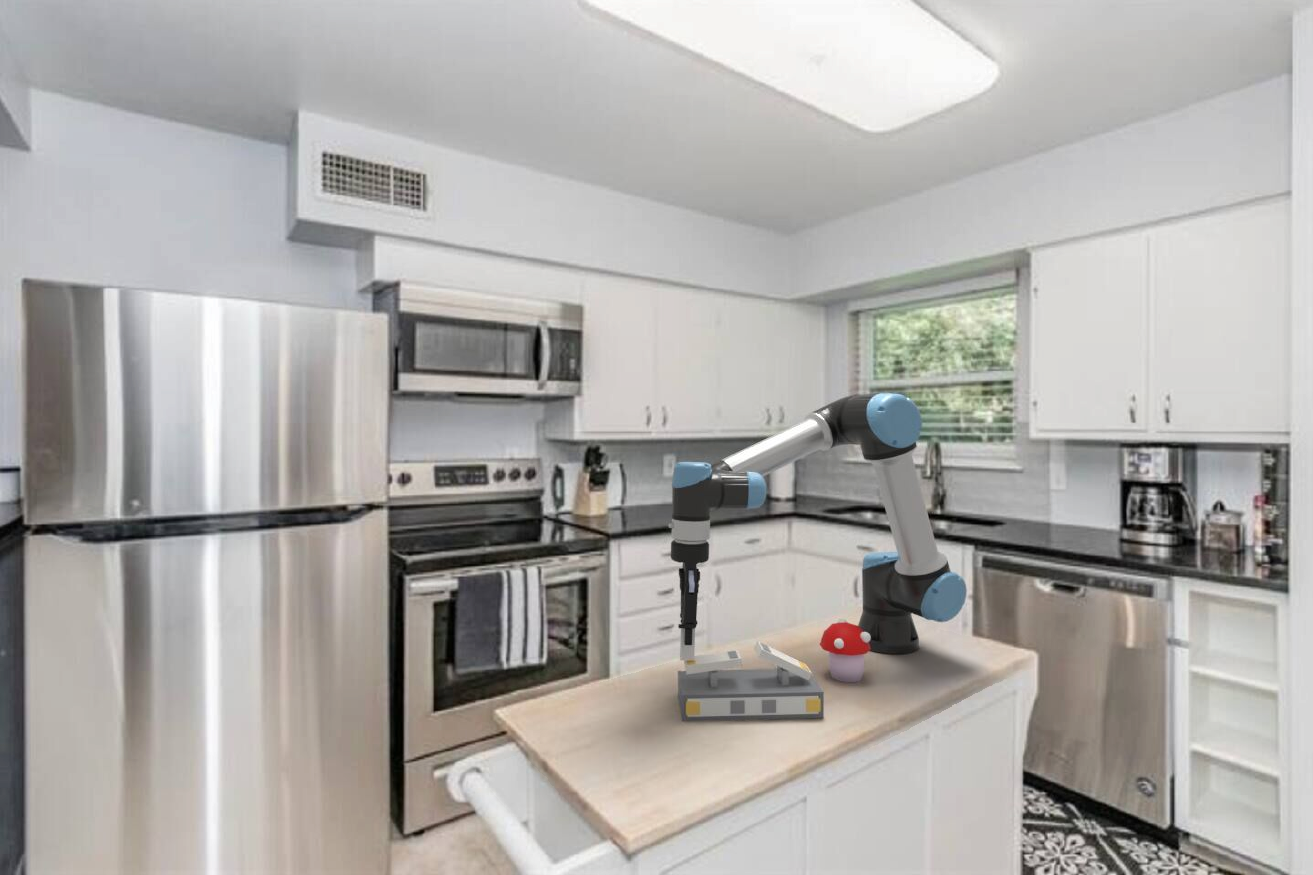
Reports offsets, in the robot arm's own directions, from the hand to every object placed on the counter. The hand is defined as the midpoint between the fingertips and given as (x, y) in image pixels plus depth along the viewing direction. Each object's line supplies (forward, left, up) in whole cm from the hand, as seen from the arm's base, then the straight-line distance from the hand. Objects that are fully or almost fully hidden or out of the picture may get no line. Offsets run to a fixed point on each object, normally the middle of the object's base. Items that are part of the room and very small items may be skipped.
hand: (687, 658), depth 132 cm
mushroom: (-36, -14, -10) cm, 40 cm away
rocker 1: (-5, 0, -1) cm, 5 cm away
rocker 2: (-19, 0, -1) cm, 19 cm away
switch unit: (-12, 0, -10) cm, 16 cm away
